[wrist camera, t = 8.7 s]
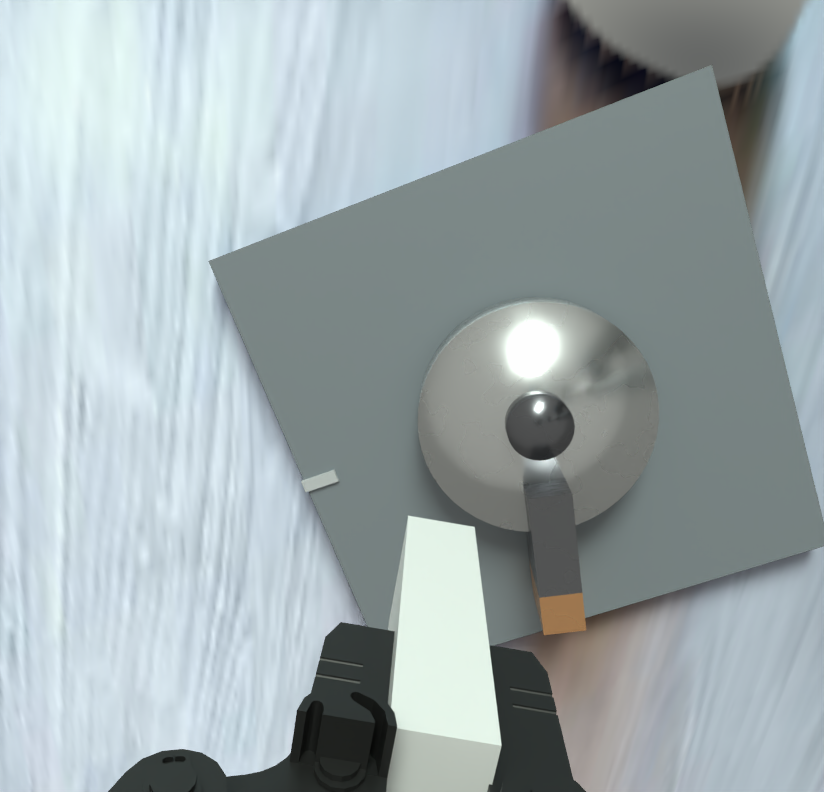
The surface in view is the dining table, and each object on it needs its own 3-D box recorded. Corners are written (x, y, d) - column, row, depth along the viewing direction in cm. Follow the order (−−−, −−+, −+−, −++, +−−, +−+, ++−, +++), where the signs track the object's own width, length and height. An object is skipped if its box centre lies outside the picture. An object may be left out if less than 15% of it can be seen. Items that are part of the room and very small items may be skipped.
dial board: (698, 71, 31) (714, 63, 30) (813, 531, 37) (832, 547, 35) (216, 259, 34) (204, 262, 33) (389, 660, 40) (387, 681, 38)
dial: (402, 315, 33) (398, 327, 29) (638, 280, 32) (662, 288, 29) (448, 604, 37) (449, 646, 33) (659, 579, 36) (683, 619, 32)
